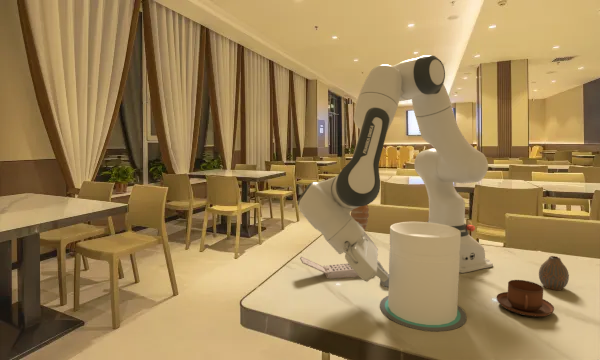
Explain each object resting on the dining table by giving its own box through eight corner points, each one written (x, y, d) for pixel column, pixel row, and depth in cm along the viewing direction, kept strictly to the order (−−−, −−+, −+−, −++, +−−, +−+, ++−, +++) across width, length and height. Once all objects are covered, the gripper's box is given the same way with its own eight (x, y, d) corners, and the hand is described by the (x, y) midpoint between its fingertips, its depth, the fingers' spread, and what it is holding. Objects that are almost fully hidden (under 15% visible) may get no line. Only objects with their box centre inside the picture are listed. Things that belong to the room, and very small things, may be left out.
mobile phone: (299, 256, 111) (375, 251, 115) (299, 274, 112) (374, 268, 116) (302, 263, 105) (382, 257, 109) (303, 282, 106) (382, 276, 110)
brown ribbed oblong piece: (364, 239, 152) (365, 197, 150) (347, 236, 156) (347, 196, 154) (371, 234, 159) (372, 195, 157) (354, 232, 163) (355, 193, 161)
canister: (395, 290, 98) (397, 219, 96) (458, 302, 91) (462, 225, 89) (381, 315, 84) (383, 232, 82) (455, 331, 77) (459, 241, 75)
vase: (559, 294, 96) (561, 262, 95) (532, 285, 102) (534, 255, 101) (572, 289, 99) (575, 258, 98) (546, 280, 105) (548, 252, 104)
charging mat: (416, 279, 107) (416, 271, 107) (486, 324, 80) (486, 314, 80) (354, 285, 102) (354, 277, 102) (406, 336, 75) (407, 325, 75)
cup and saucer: (564, 323, 81) (566, 297, 80) (507, 319, 83) (509, 294, 82) (538, 300, 93) (539, 277, 92) (489, 297, 95) (490, 275, 94)
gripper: (353, 240, 79) (397, 286, 77) (358, 220, 98) (394, 257, 97) (332, 258, 80) (376, 304, 79) (342, 235, 100) (377, 272, 99)
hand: (386, 278), depth 88 cm, fingers closed, pressing on canister
